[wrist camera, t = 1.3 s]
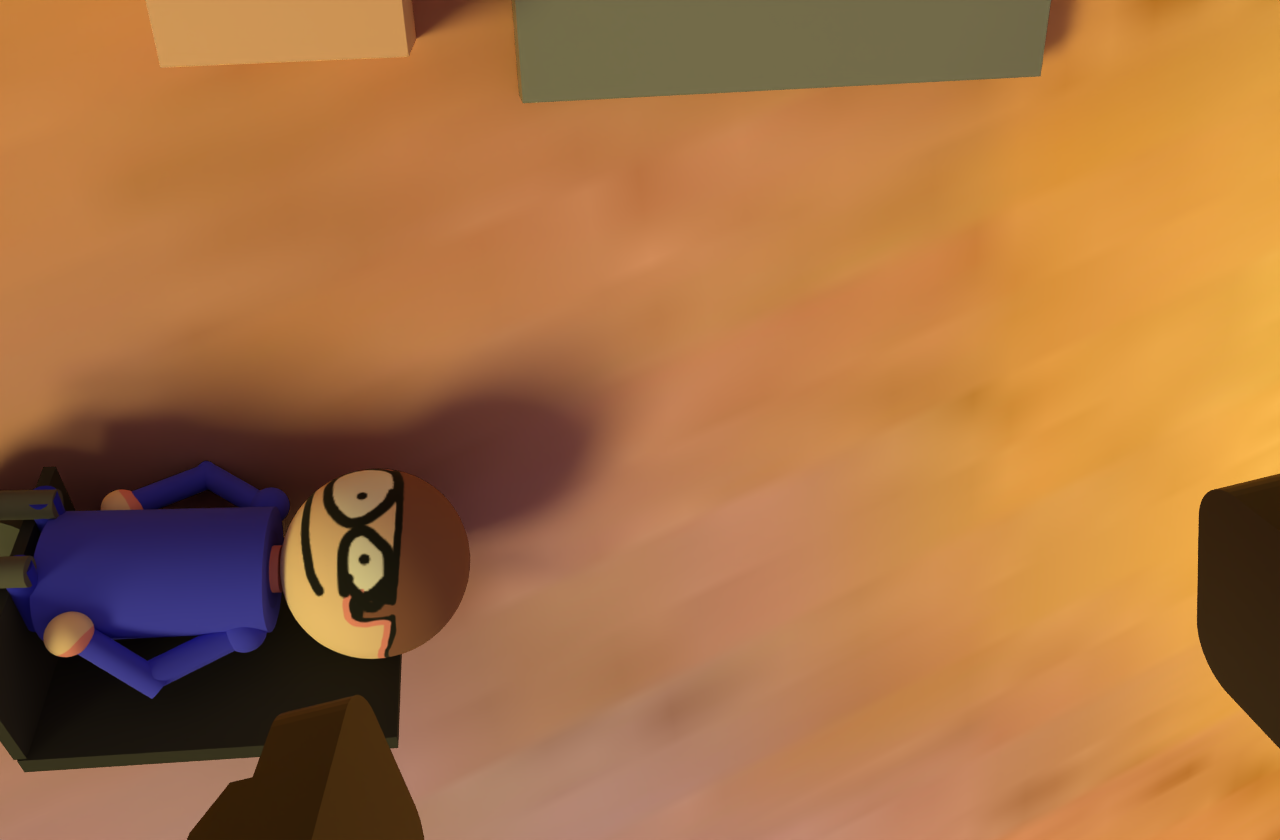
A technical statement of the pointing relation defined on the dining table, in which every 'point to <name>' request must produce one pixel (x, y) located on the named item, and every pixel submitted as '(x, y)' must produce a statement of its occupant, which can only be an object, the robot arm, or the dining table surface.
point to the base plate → (767, 44)
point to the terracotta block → (279, 30)
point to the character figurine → (212, 612)
